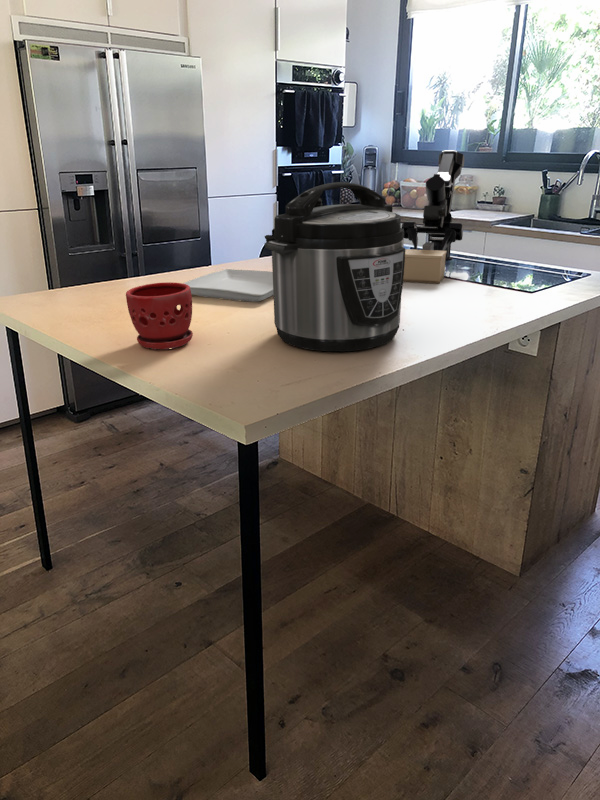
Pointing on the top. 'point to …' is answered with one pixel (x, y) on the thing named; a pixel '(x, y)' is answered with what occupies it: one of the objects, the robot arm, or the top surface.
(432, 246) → the lid
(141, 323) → the plant pot
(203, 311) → the top surface
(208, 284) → the square plate
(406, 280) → the carton
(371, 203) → the pressure cooker
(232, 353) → the top surface
